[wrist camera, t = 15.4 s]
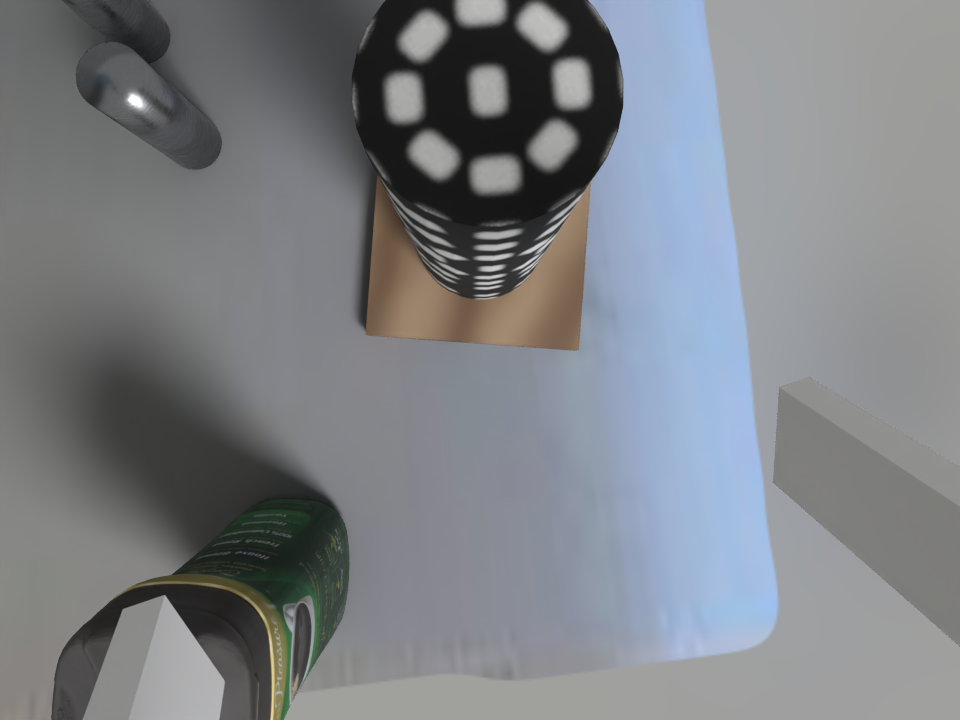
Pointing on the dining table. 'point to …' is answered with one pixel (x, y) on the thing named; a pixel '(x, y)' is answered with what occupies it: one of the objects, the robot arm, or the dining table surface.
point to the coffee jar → (238, 609)
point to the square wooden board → (499, 321)
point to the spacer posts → (141, 82)
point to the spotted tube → (486, 127)
